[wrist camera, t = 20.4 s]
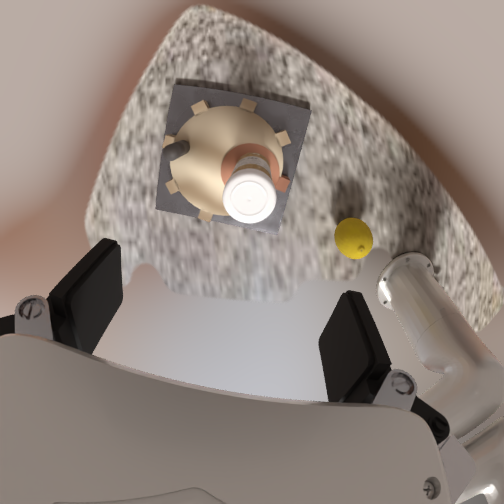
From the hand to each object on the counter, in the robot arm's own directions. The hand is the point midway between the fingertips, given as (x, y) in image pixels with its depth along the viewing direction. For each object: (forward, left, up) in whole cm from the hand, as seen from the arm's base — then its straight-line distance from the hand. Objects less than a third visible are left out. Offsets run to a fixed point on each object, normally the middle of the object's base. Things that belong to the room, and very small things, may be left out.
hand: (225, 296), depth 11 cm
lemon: (-17, +6, -31) cm, 35 cm away
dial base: (+3, 0, -30) cm, 31 cm away
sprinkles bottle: (0, 0, -27) cm, 27 cm away
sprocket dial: (+4, 0, -29) cm, 29 cm away
